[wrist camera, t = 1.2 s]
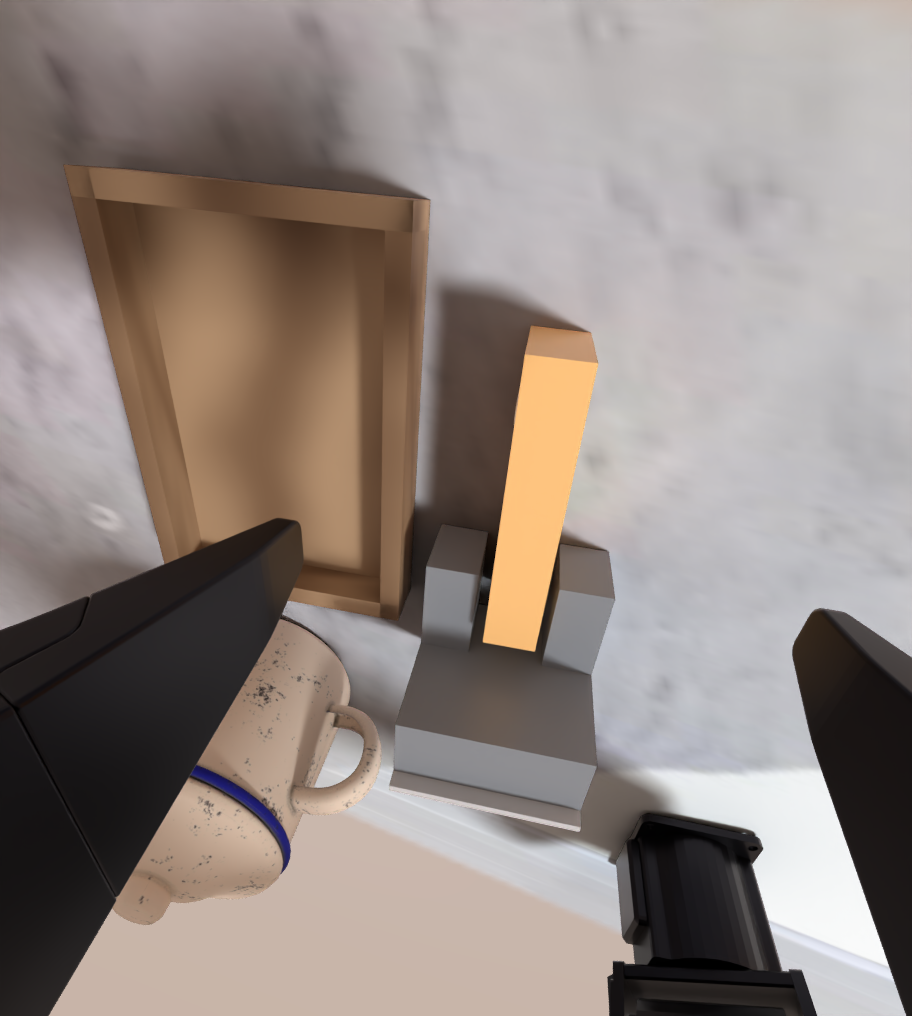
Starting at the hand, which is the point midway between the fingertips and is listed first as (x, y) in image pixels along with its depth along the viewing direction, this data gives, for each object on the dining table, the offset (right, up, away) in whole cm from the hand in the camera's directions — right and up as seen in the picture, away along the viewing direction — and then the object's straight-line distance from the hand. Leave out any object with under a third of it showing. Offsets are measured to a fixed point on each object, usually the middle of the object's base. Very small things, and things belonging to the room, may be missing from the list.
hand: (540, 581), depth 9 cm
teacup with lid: (-10, -8, +20) cm, 23 cm away
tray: (-8, +5, +12) cm, 15 cm away
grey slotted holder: (+1, -3, +15) cm, 15 cm away
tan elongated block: (+2, +3, +11) cm, 12 cm away
